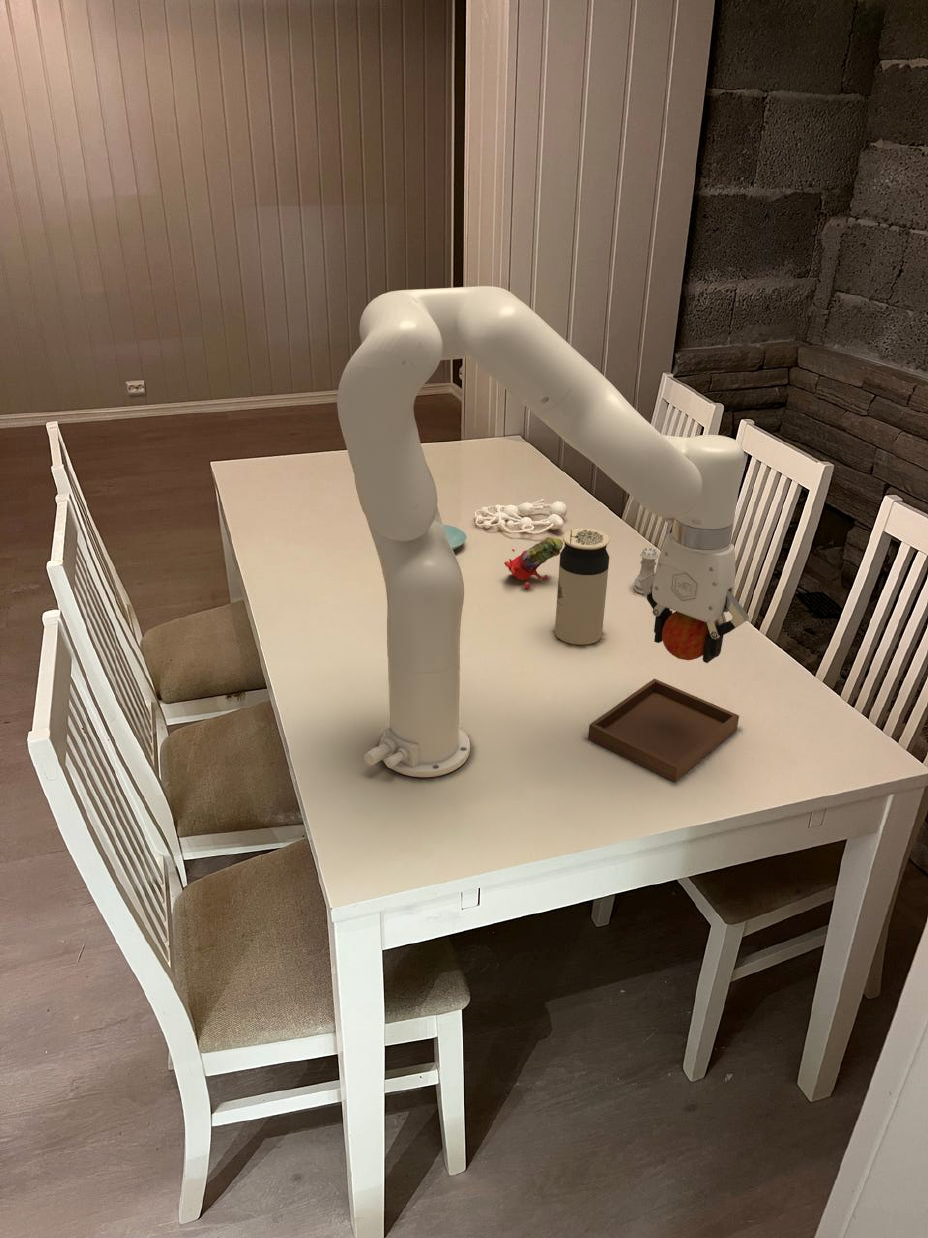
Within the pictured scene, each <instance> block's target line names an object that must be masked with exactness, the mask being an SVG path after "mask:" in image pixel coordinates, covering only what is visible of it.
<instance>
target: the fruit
mask: <svg viewBox="0 0 928 1238" xmlns="http://www.w3.org/2000/svg"><path fill="white" fill-rule="evenodd" d="M708 635H710V632H709V629H708V626H707V623H706V622H704V621H701V620H698V619H695V618H693V617H690V616H687V615H685V614H682V613H679V612H677V611H674V612H672V614H671V615H670V616H669V617H668V618H667V620H666V621H665V624H664V626H663V630H662V640H663V641H662V643H663V646H664V648H665V649H666V650H667V651H668V653H669V654H670V655H672V656H673V657H675V658H677V659H678V660H683V661H693V660H697V659H699V658H701V657H703V653H704V646H705V639H706V637H707V636H708Z"/></svg>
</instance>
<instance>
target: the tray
mask: <svg viewBox="0 0 928 1238" xmlns="http://www.w3.org/2000/svg"><path fill="white" fill-rule="evenodd" d="M739 719H740V715H739V714H737V713H735V712H732V711H730V710H727V709H726V708H723V707H721V706H718V705H716V704H714V703H713V702H709V701H707V700H705V699H702V698H701V697H698V696H696V695H693V694H691V693H689V692H686V691H684V690H682V689H679V688H677V687H675V686H672V685H670V684H668V683H666V682H664V681H661V680H659V679H657V678H652V680H649V681H648V682H647V683H646V684H644V685H643V686H642V687H640V688H639V689H638V690H636V691H635V692H633V693H632V694H630V695H629V696H627V697H626V698H625V699H623V700H622V701H620V702H619V703H618V704H616V705H614V706H613V707H611V709H609V710H608V711H606V712H605V713H603V714H602V715H601V716H599V717H598V718H596V719H595V720H594V721H592V722H591V723H589V724H588V732H587V734H588V735H587V739H589V740H591V741H593V742H594V743H597V744H598V745H601V746H602V747H604V748H607V749H609V750H610V751H612V752H614V753H616V754H618V755H620V756H622V757H625V758H626V759H628V760H630V761H632V762H634V763H636V764H638V765H640V766H642V767H643V768H646V769H648V770H650V771H652V772H654V773H656V774H658V775H660V776H662V777H664V778H665V779H668V780H670V781H672V782H673V783H676V782H677V781H678V780H680V779H681V778H682V777H683V776H684V775H686V774H687V773H688V772H689V771H690V770H691V769H692V768H694V767H695V766H696V765H697V764H698V763H700V762H701V761H702V760H703V759H705V757H707V756H708V755H709V754H710V753H711V752H712V751H714V749H716V748H717V747H718V746H719V745H720V744H722V743H723V742H724V741H725V740H727V738H729V737H730V736H731V735H732V734H733V733H734V732H735V731H736V730H738V726H739Z"/></svg>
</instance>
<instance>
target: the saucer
mask: <svg viewBox="0 0 928 1238" xmlns="http://www.w3.org/2000/svg"><path fill="white" fill-rule="evenodd" d="M443 527H444V530H445V533H446V535H447V538H448V541H449V543H450V545H451V547H452V549H453V551H454V550H456V549H458V548H459V547H461V546H462V545H463V544H465V542H466V541H467V538H468V536H467V534H466V532H464V531H463V530H462V529H461V528H458V527H455V526H452V525H447V524H443Z"/></svg>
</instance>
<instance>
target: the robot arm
mask: <svg viewBox="0 0 928 1238" xmlns="http://www.w3.org/2000/svg"><path fill="white" fill-rule="evenodd" d="M359 338H360V342H361V344H360V346H358V348H357V349H356V350H355V352H354V353H353V355H352V356H351V357H350V359H349V361H348V362H347V364H346V365H345V368H344V370H343V373H342V374H341V378H340V381H339V384H338V387H337V396H336V409H337V416H338V421H339V425H340V426H339V427H340V429H341V433H342V436H343V441H344V444H345V447H346V450H347V454H348V458H349V462H350V465H351V468H352V472H353V475H354V485H355V490H356V493H357V497H358V498H357V499H358V502H359V504H360V507H361V510H362V513H363V514H364V516H365V520H366V522H367V525H368V528H369V531H370V535H371V537H372V540H373V543H374V547H375V550H376V554H377V555H378V560H379V563H380V567H381V573H382V577H383V582H384V587H385V593H386V611H387V612H386V654H387V675H388V677H387V678H388V679H387V681H388V708H389V709H388V710H389V727H388V728H386V729H384V733H383V735H381V737H380V740H379V745H378V746H375V747H373V748H371V749H369V750H368V751H366V752H365V753H364V754H363V759H364V761H365V763H366V764H367V765H369V767H370V766H371V767H372V766H374V765H376V764H377V763H379V762H380V761H383V763H384V764H385V766H386V767H387V768H389V769H391V770H392V771H394V772H397V773H398V774H402V775H405V776H408V777H413V778H414V777H415V778H433V777H440V776H443V775H446V774H450V773H451V772H453V771H456V770H457V769H458V768H460V767H461V766H463V764H465V763H466V761H467V760H468V758H469V756H470V753H471V741H470V738H469V736H468V734H467V733H466V731H465V730H464V729H463V728H462V727H460V689H461V687H460V684H461V681H460V680H461V626H462V617H463V616H462V615H463V610H464V609H463V608H464V602H465V581H464V577H463V572H462V569H461V566H460V564H459V561H458V558H457V555H456V553H455V551H454V550H453V549H452V547H451V545H450V543H449V541H448V538H447V535H446V533H445V530H444V527H443V525H444V524H443V521H442V517H441V514H440V510H439V506H438V492H437V491H438V490H437V486H436V482H435V480H434V477H433V475H432V472H431V470H430V467H429V466H428V463H427V460H426V457H425V454H424V449H423V446H422V444H421V440H420V435H419V430H418V426H417V421H416V418H415V412H414V411H415V410H414V408H415V407H414V406H415V401H416V398H417V395H418V393H419V392H420V391H421V389H422V388H423V386H424V385H425V384H426V383H427V382H428V381H429V379H430V378H431V377H432V376H433V375H434V373H436V370H437V369H438V367H439V365H440V362H441V361H447V360H448V361H449V360H461V359H469V358H471V359H473V361H474V362H475V364H477V365H478V366H479V367H480V369H481V370H483V371H484V372H485V373H486V374H487V375H489V377H491V379H493V380H494V381H495V382H496V383H497V384H499V386H501V387H502V388H503V389H505V390H506V391H507V392H508V393H510V394H511V395H512V396H513V397H515V399H517V400H518V401H519V402H520V403H521V404H522V405H524V407H526V408H527V409H528V410H529V411H531V412H532V414H534V415H535V416H536V417H538V419H539V420H541V421H542V423H544V424H545V425H546V426H548V427H549V428H550V429H551V430H552V431H553V432H555V433H556V434H557V435H558V436H559V437H560V438H561V439H562V440H563V441H564V442H565V443H566V444H568V445H569V446H570V447H572V448H573V449H575V450H576V451H577V452H579V453H580V454H581V455H582V456H584V457H585V458H586V459H588V460H589V461H590V462H592V464H593V465H595V466H596V467H597V468H599V469H600V471H602V472H603V473H604V474H605V475H606V476H607V477H609V478H610V479H611V480H612V481H613V482H614V483H615V484H617V485H618V486H619V487H620V488H621V489H622V490H624V491H625V492H626V493H627V494H628V495H630V496H631V498H633V499H634V500H635V501H636V502H638V503H639V504H640V505H641V506H642V507H643V508H644V509H646V510H647V511H648V512H649V513H650V514H652V515H654V516H656V517H659V518H664V519H665V522H666V523H669V524H670V525H671V531H670V532H668V533H667V534H666V536H665V537H664V540H663V543H662V546H661V550H660V552H659V555H658V558H657V559H658V560H657V562H656V567H655V571H654V572H655V574H654V575H651V576H649V577H647V578H645V579H644V580H642V581H641V582H640V585H641V587H642V589H643V591H644V593H645V594H646V600H647V602H648V603H649V605H650V607H651V608H652V611H651V612H652V615H653V616H654V627H653V633H654V638H653V639H654V641H653V642H654V643H656V644H660V643H663V640H662V630H663V626H664V624H665V621H666V620H667V618H668V617H669V616H670V615H671V614H672V613H674V612H676V611H677V612H679V613H682V614H685V615H687V616H690V617H693V618H695V619H698V620H701V621H704V622H706V623H707V626H708V629H709V632H710V635H708V636H707V637H706V639H705V646H704V653H703V656H702V662H703V663H706V664H708V663H710V662H711V661H713V660H714V659H715V658H717V657H719V656H720V654H721V652H722V648H723V641H724V636H725V635H727V634H728V633H729V634H730V633H731V632H732V631H734V630H735V629H737V628H738V627H739V626H741V625H743V624H744V623H745V622H747V621H748V620H749V619H750V616H749V615H748V613H747V611H746V610H745V609H744V608H743V606H742V604H741V603H740V602H739V601H738V600H737V598H736V597H735V586H736V551H735V545H734V544H732V543H731V542H732V536H733V529H734V524H735V523H734V522H735V517H736V510H737V504H738V497H739V491H740V485H741V478H742V472H743V466H744V459H745V458H744V457H745V451H744V448H743V446H742V444H741V443H740V442H739V441H738V440H736V439H734V438H731V437H728V436H725V435H720V434H702V435H695V436H693V437H687V436H685V437H684V436H675V435H665V434H662V433H660V432H659V431H658V430H657V429H656V428H655V427H654V426H653V425H652V424H651V423H650V422H649V421H648V420H646V419H645V417H643V416H642V415H641V414H640V413H639V412H638V411H637V410H636V409H635V407H633V406H632V404H631V403H630V402H629V401H627V399H626V398H625V397H624V396H623V395H622V394H621V392H620V391H619V390H618V389H617V388H616V387H615V386H614V385H613V383H611V382H610V381H609V380H608V378H606V377H605V376H604V374H602V372H601V371H599V369H597V368H596V367H594V366H593V365H592V364H591V363H590V362H589V361H588V360H587V359H586V358H585V357H584V356H583V355H582V354H580V353H579V352H578V351H577V350H576V349H575V348H574V347H573V346H572V345H571V344H570V343H569V342H567V340H565V339H564V338H563V337H562V335H560V334H558V332H557V331H556V330H554V329H553V327H551V326H550V325H549V324H548V323H547V322H546V321H545V320H544V319H543V318H541V317H540V315H538V314H537V313H536V312H535V311H534V310H533V309H532V308H530V307H529V306H528V305H527V304H526V303H525V302H523V301H522V300H520V299H519V298H518V297H517V296H516V295H514V293H512V292H511V291H509V290H507V289H505V288H503V287H498V286H494V285H491V286H490V285H481V286H479V285H478V286H460V287H447V288H445V287H443V288H442V287H441V288H420V289H419V288H418V289H401V290H393V291H392V290H391V291H389V292H385V293H383V294H380V295H378V296H377V297H374V298H373V299H372V300H371V301H370V302H369V303H368V304H367V305H366V307H365V308H364V310H363V312H362V315H361V316H360V321H359ZM645 594H644V595H645ZM673 611H674V612H673ZM725 613H730V615H731V616H732V618H731V619H730V620H728V621H727V620H726V619H727V618H726V616H725Z"/></svg>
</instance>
